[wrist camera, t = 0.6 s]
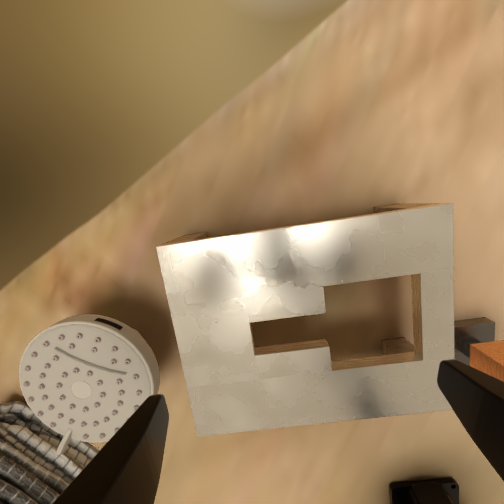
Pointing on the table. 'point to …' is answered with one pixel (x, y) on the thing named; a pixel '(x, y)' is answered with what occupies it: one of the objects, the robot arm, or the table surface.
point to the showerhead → (87, 377)
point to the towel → (35, 458)
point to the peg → (479, 346)
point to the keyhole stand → (308, 303)
